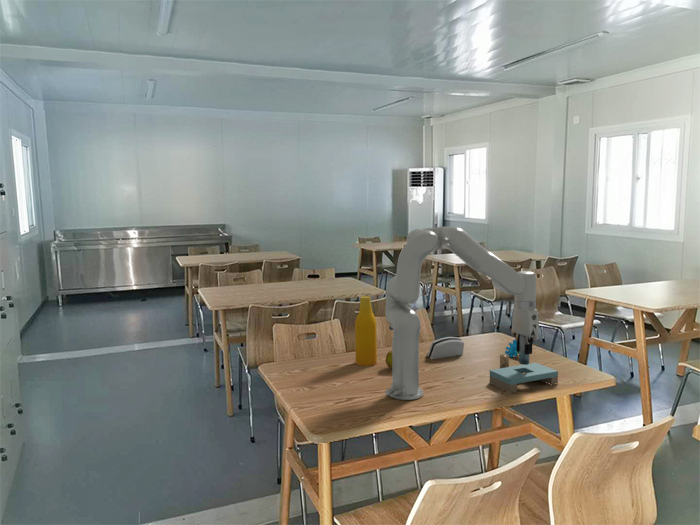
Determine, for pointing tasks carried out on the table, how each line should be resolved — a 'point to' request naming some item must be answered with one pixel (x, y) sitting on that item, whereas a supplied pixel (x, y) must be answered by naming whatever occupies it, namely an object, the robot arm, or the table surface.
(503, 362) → the short pin
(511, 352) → the gear
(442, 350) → the napkin holder
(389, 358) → the fruit
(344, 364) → the table surface
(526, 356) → the tall pin
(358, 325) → the beer bottle
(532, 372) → the hole bridge
